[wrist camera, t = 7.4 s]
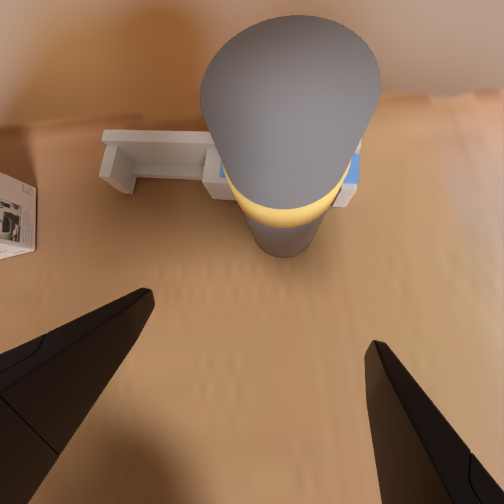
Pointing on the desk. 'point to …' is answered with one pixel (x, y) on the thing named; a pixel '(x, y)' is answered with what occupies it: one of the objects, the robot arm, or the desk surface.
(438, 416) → the robot arm
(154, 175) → the white blue striped bracket
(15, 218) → the light bulb box
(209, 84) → the grey banded capsule
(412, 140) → the desk surface
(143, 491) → the desk surface
